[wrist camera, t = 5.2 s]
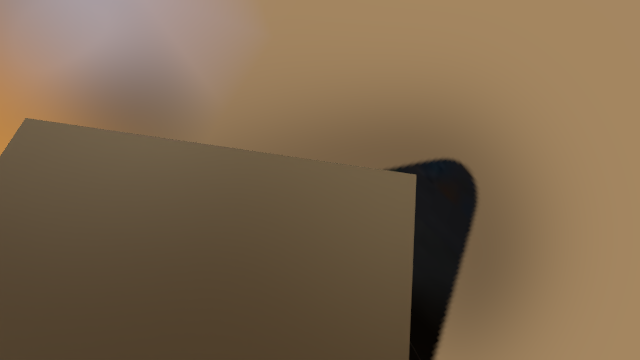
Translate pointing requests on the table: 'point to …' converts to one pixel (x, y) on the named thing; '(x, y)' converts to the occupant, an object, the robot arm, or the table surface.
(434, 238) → the table surface
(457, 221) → the table surface
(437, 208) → the table surface
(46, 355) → the maple block
